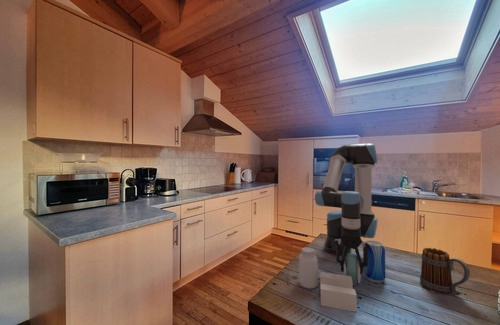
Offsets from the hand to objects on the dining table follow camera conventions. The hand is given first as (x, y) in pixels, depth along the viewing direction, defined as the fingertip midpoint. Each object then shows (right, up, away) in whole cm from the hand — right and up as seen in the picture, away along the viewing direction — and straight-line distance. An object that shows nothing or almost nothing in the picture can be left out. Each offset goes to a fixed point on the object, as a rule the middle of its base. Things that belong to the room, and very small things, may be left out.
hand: (351, 279), depth 92 cm
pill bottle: (-19, -2, 0) cm, 19 cm away
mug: (+35, -1, -6) cm, 35 cm away
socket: (-11, -1, -10) cm, 15 cm away
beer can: (+12, -1, +3) cm, 12 cm away
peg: (0, -1, 0) cm, 1 cm away
